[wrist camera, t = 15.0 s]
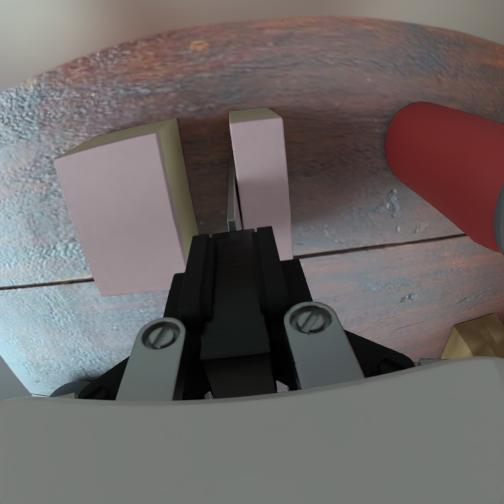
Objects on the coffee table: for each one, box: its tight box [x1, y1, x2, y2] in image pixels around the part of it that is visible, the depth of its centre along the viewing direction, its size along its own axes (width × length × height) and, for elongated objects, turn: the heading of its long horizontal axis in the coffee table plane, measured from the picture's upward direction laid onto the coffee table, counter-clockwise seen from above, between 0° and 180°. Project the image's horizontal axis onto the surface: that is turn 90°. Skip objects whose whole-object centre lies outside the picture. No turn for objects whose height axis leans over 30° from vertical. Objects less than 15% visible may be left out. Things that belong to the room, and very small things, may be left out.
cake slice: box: [229, 107, 293, 261], centre depth 19 cm, size 2×9×6 cm, turn 6°
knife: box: [198, 157, 278, 399], centre depth 14 cm, size 2×3×16 cm, turn 7°
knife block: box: [440, 313, 504, 359], centre depth 29 cm, size 7×6×8 cm
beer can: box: [385, 102, 504, 255], centre depth 15 cm, size 7×7×12 cm
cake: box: [54, 118, 199, 297], centre depth 19 cm, size 6×9×6 cm, turn 6°
